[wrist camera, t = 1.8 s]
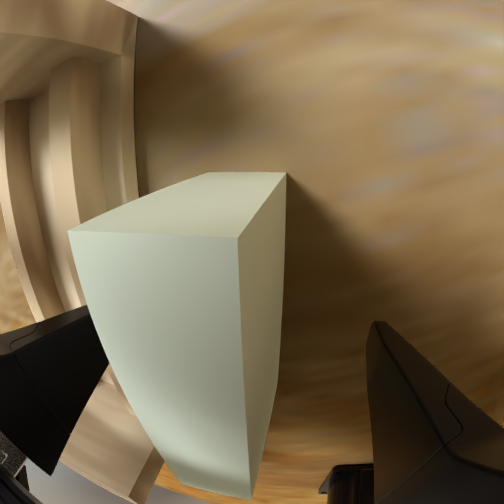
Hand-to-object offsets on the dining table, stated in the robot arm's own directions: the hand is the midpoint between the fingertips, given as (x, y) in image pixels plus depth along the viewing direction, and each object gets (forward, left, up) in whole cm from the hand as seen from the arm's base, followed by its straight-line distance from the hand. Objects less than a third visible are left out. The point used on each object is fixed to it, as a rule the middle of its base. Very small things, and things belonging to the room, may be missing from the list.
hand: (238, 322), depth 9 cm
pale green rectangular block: (0, 0, -2) cm, 2 cm away
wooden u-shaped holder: (+1, +8, -2) cm, 8 cm away
